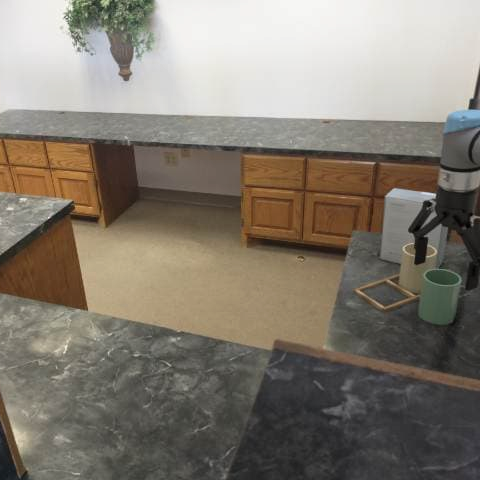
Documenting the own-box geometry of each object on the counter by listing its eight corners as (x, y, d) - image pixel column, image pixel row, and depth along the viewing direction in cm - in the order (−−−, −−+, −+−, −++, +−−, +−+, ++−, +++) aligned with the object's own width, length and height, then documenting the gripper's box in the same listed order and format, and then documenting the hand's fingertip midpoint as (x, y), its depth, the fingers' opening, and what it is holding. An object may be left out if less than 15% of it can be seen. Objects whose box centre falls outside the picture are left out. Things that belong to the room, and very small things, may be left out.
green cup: (460, 323, 119) (469, 279, 113) (436, 333, 116) (443, 289, 111) (433, 308, 125) (440, 265, 120) (409, 317, 123) (415, 274, 118)
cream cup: (437, 293, 131) (443, 251, 125) (414, 301, 128) (420, 260, 123) (413, 280, 137) (418, 240, 132) (391, 287, 135) (396, 247, 129)
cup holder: (446, 294, 130) (447, 285, 129) (383, 317, 124) (384, 309, 123) (413, 276, 139) (414, 268, 138) (353, 297, 133) (353, 289, 132)
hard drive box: (443, 261, 144) (454, 196, 135) (435, 273, 139) (446, 206, 130) (387, 248, 153) (394, 186, 145) (377, 259, 149) (384, 196, 140)
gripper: (396, 175, 115) (389, 258, 124) (501, 209, 94) (482, 305, 103) (422, 168, 118) (412, 250, 127) (529, 199, 96) (509, 295, 105)
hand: (444, 275), depth 115 cm, fingers open, 13 cm apart
